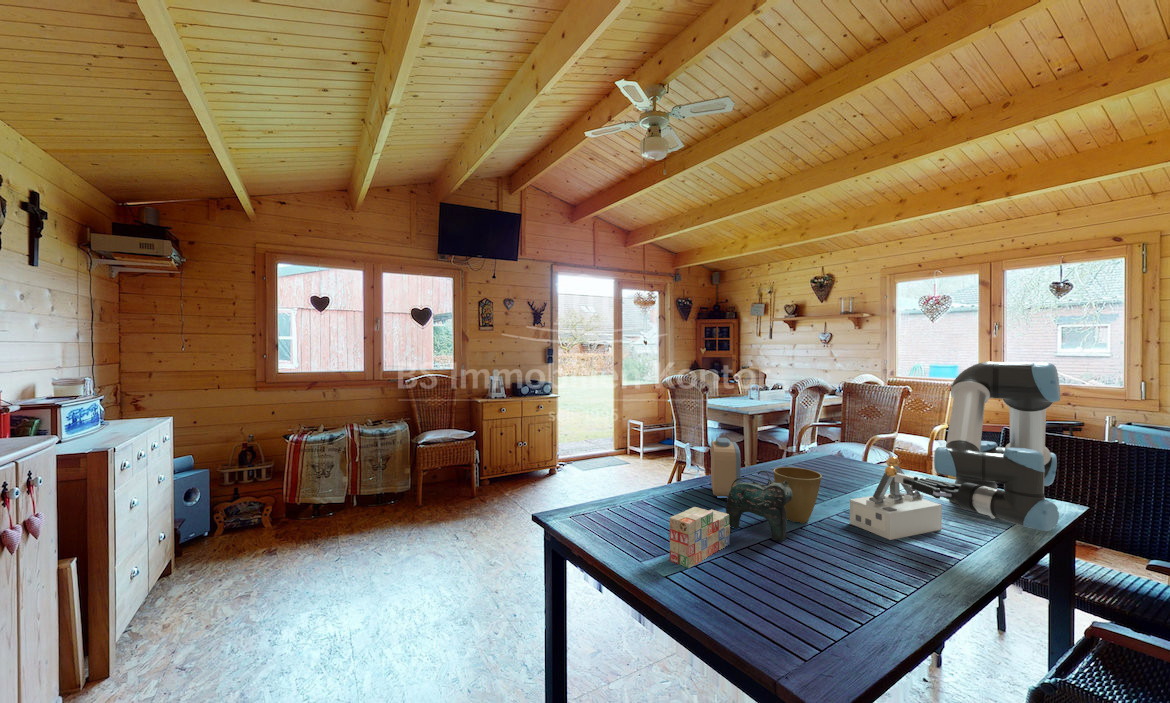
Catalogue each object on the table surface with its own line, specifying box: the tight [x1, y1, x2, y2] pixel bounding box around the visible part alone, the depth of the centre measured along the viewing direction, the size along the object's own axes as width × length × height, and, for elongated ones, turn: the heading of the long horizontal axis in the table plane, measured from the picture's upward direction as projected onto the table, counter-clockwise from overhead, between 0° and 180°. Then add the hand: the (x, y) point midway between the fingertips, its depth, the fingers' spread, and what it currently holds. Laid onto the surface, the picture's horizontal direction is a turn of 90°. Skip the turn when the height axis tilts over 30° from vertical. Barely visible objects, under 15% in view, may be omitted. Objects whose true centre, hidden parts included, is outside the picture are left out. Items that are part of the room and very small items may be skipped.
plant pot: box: [772, 466, 823, 524], centre depth 158 cm, size 15×15×16 cm
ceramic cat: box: [725, 470, 792, 542], centre depth 146 cm, size 20×6×20 cm, turn 47°
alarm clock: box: [710, 437, 742, 497], centre depth 185 cm, size 21×10×22 cm, turn 168°
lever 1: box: [869, 465, 897, 504], centre depth 146 cm, size 3×3×14 cm
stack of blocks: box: [668, 506, 731, 569], centre depth 132 cm, size 21×6×12 cm, turn 133°
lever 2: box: [885, 459, 921, 498], centre depth 158 cm, size 3×3×14 cm
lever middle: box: [887, 456, 902, 501], centre depth 152 cm, size 3×3×14 cm
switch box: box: [849, 492, 943, 541], centre depth 151 cm, size 24×14×10 cm, turn 110°
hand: (896, 477), depth 150 cm, fingers closed
